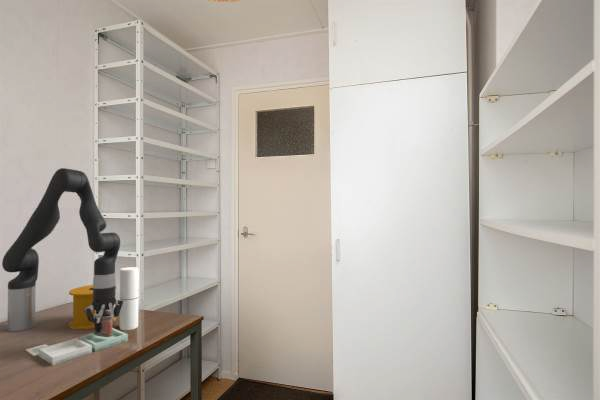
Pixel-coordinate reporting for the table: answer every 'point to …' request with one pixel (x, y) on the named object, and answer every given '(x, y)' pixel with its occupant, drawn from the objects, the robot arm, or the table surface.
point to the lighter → (105, 325)
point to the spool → (82, 307)
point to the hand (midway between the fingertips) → (103, 330)
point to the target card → (35, 350)
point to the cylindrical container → (129, 297)
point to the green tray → (105, 340)
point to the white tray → (65, 351)
